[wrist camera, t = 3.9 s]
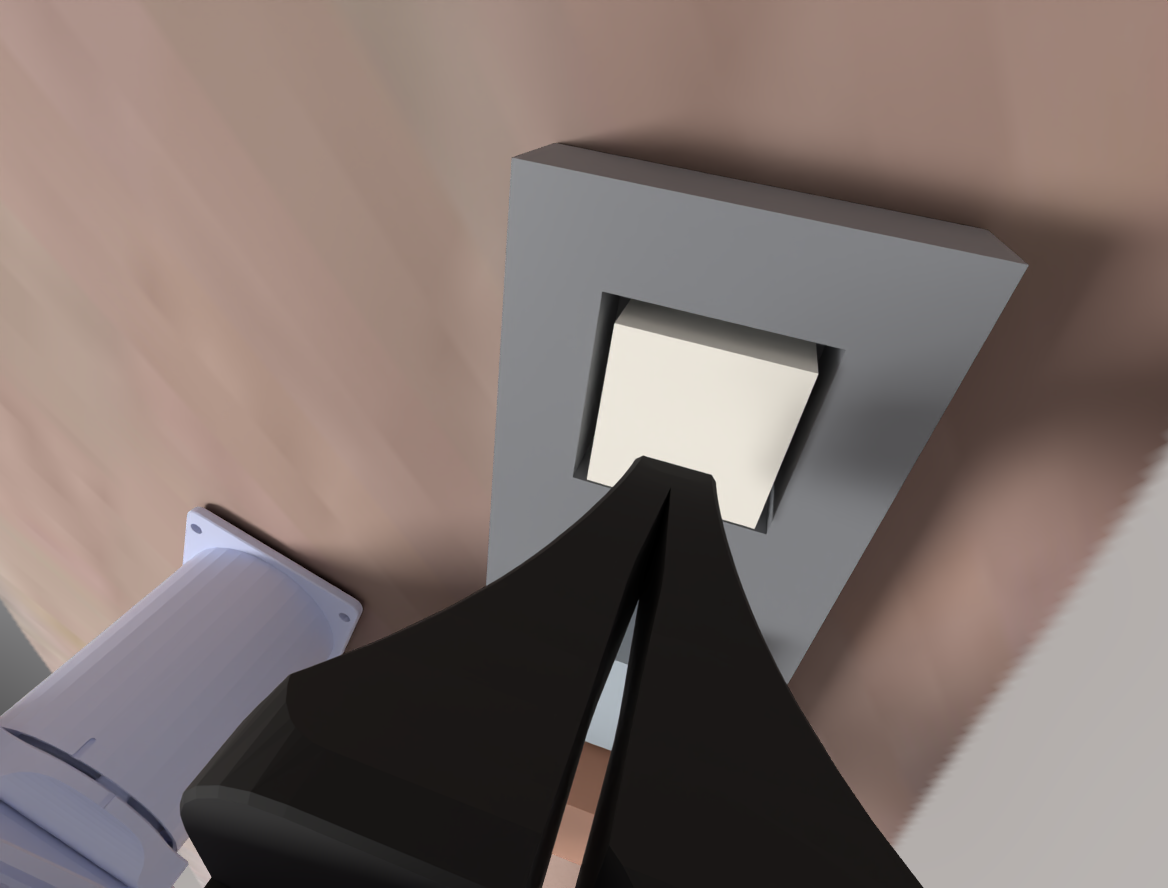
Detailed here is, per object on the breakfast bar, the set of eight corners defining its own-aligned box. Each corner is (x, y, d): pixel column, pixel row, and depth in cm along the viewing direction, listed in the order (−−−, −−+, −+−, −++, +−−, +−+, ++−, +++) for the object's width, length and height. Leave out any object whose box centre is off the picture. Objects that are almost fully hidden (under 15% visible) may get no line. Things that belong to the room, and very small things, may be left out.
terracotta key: (632, 811, 23) (617, 880, 21) (536, 775, 24) (513, 838, 22) (652, 760, 21) (638, 831, 19) (546, 721, 21) (521, 786, 20)
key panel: (687, 810, 26) (678, 873, 24) (497, 738, 27) (473, 792, 25) (987, 229, 12) (1028, 264, 10) (554, 143, 13) (511, 157, 11)
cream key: (759, 469, 15) (754, 528, 13) (611, 428, 16) (586, 479, 14) (814, 327, 13) (818, 373, 11) (639, 286, 14) (614, 323, 12)
